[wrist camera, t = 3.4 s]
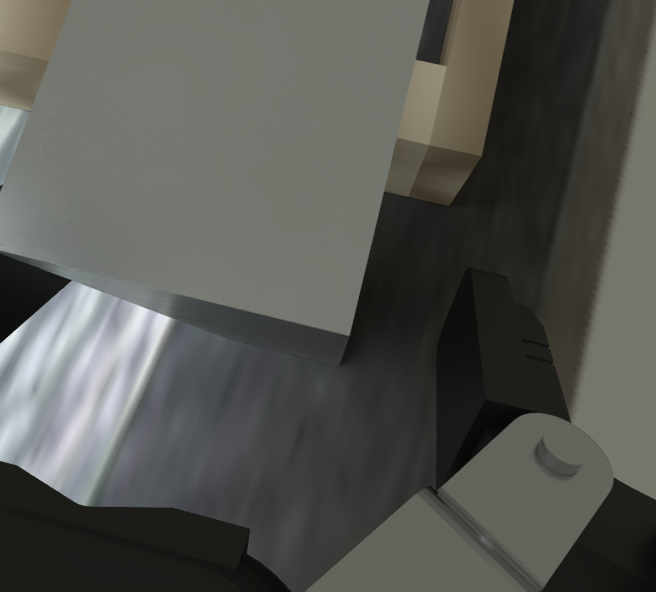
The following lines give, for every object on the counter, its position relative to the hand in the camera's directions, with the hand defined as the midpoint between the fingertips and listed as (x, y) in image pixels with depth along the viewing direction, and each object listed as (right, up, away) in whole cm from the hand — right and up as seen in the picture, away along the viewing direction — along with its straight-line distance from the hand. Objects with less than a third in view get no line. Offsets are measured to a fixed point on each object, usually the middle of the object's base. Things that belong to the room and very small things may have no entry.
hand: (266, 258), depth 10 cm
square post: (0, -1, +7) cm, 7 cm away
